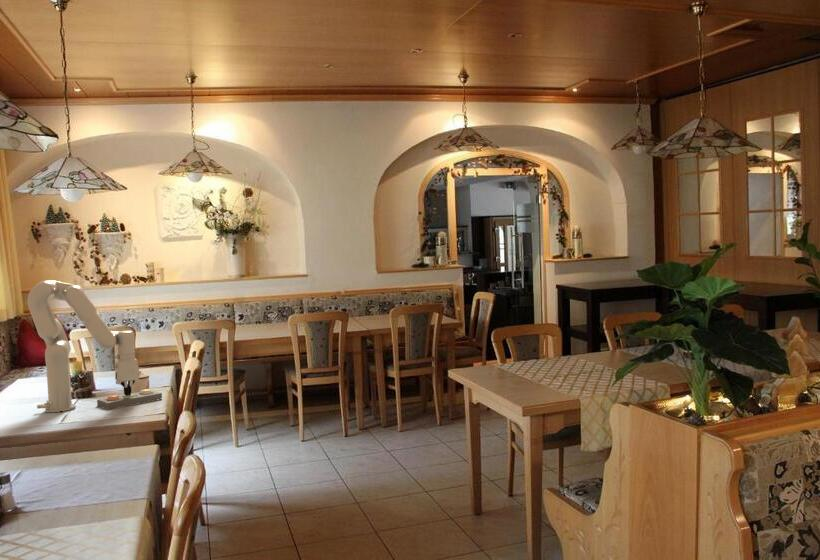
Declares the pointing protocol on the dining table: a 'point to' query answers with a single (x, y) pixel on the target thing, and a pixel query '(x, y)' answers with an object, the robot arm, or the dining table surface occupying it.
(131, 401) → the button panel
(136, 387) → the teacup with lid
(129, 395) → the sage button
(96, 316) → the robot arm
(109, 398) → the terracotta button
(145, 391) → the cream button
